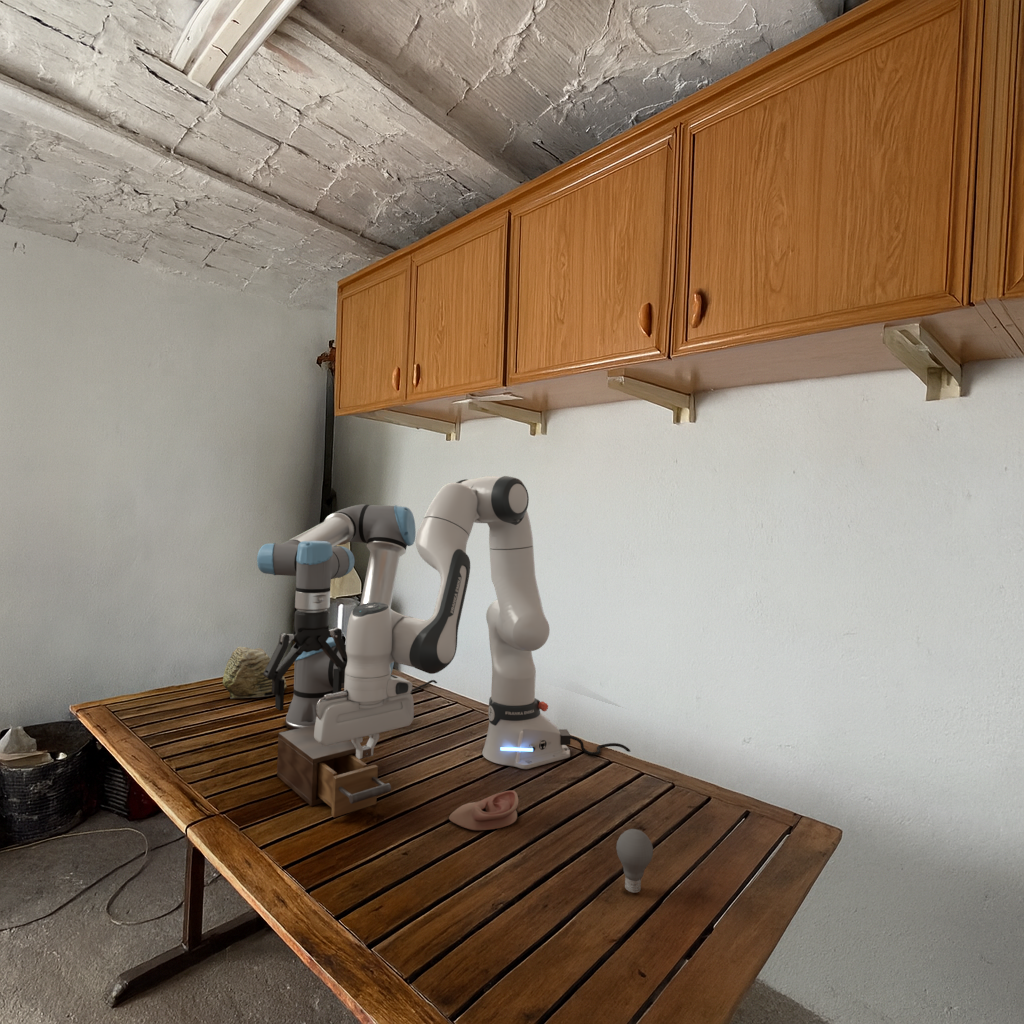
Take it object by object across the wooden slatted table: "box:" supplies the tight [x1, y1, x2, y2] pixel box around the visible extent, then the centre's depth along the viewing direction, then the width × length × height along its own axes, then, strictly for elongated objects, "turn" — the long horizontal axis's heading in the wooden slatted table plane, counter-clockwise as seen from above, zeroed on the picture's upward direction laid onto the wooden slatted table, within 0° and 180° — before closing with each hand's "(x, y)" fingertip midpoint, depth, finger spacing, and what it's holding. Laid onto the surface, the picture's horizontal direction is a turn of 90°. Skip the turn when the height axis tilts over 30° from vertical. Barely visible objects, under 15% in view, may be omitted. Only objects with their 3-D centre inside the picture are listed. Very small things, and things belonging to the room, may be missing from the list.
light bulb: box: [615, 828, 654, 894], centre depth 106 cm, size 6×6×10 cm
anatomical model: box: [448, 790, 519, 831], centre depth 128 cm, size 13×4×12 cm
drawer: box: [316, 754, 392, 818], centre depth 130 cm, size 23×9×8 cm, turn 42°
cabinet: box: [276, 725, 357, 807], centre depth 140 cm, size 18×11×10 cm, turn 42°
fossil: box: [222, 646, 288, 699], centre depth 198 cm, size 9×18×15 cm, turn 132°
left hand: (308, 703), depth 143 cm, fingers open, 13 cm apart
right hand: (364, 756), depth 124 cm, fingers closed
